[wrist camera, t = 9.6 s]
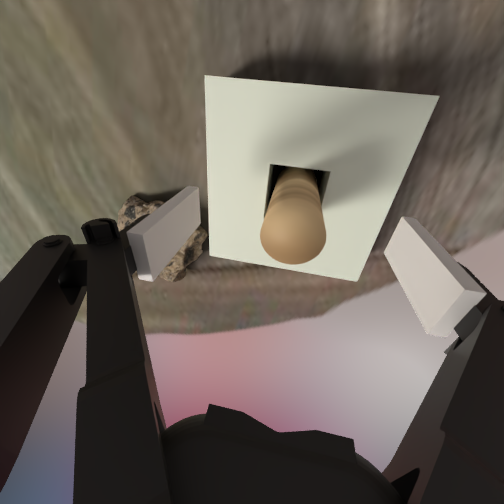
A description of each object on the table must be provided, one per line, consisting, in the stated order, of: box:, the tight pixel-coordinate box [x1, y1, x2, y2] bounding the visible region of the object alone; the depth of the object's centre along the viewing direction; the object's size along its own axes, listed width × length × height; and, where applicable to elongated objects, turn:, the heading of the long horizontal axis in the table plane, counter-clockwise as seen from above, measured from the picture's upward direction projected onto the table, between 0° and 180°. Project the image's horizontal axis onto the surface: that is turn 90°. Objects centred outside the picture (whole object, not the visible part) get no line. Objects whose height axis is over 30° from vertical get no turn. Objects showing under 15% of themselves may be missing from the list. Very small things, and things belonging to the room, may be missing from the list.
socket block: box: [205, 75, 439, 282], centre depth 22 cm, size 16×16×4 cm
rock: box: [117, 196, 208, 282], centre depth 29 cm, size 11×11×4 cm
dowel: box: [260, 166, 326, 265], centre depth 19 cm, size 4×4×12 cm
